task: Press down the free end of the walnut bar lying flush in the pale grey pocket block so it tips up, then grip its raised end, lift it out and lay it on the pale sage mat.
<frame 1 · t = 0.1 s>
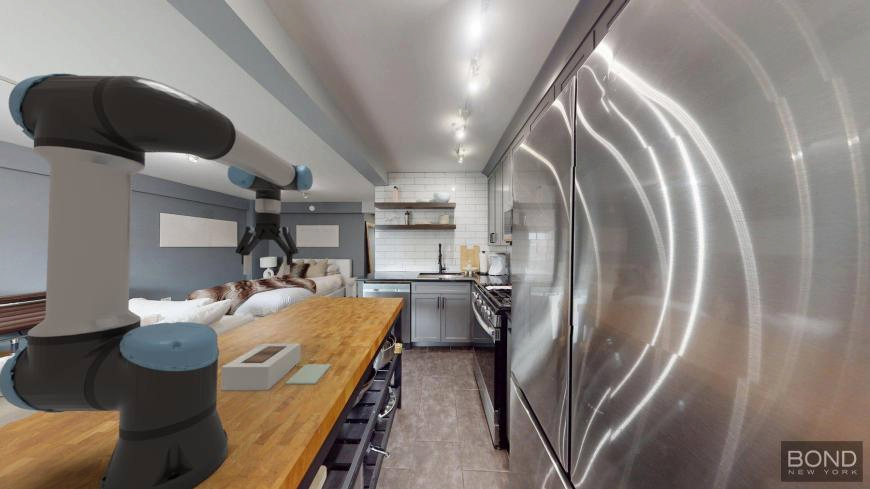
hand: (266, 274, 95), 28 cm above the worktop, tool pointing down, fingers open, 13 cm apart
walnut bar: (265, 362, 81), point 3 cm above the worktop, touching pocket block
sage mat: (310, 374, 81), on the worktop
pocket block: (265, 374, 80), on the worktop
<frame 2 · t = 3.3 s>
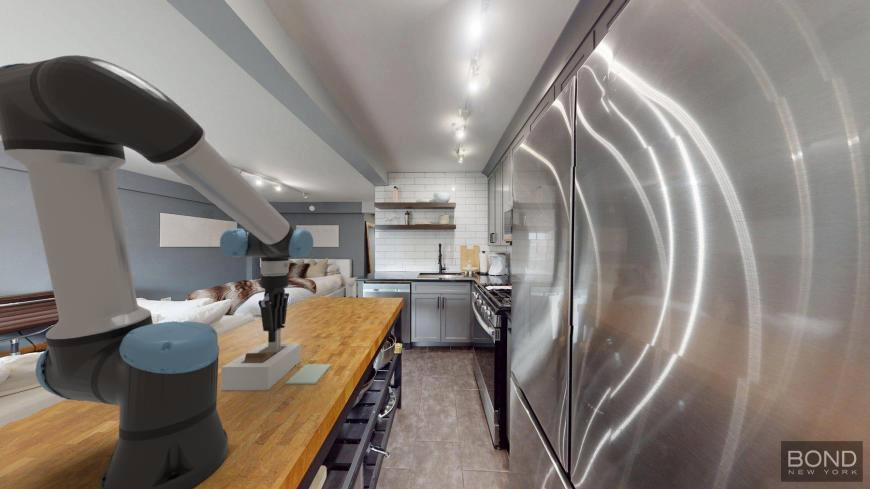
hand: (274, 350, 85), 5 cm above the worktop, tool pointing down, fingers closed
walnut bar: (265, 362, 81), point 4 cm above the worktop, tilted 19°, touching gripper, pocket block
everything else where it was.
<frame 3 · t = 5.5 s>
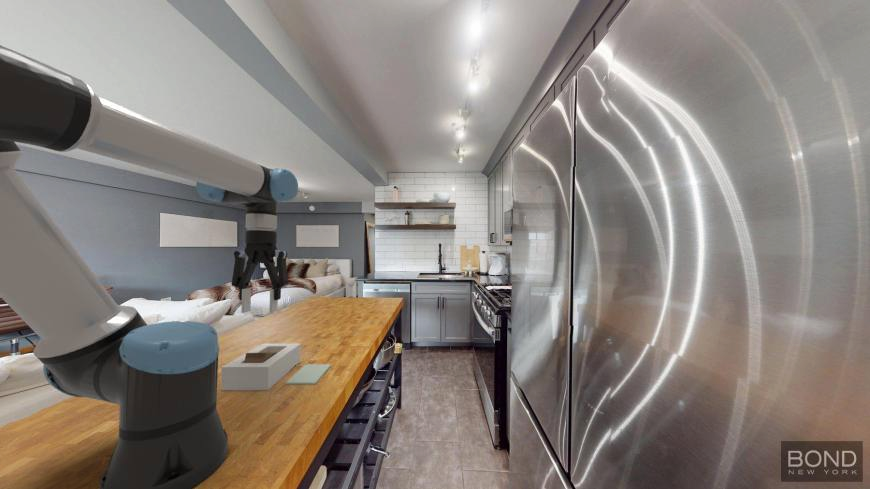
hand: (259, 311, 78), 19 cm above the worktop, tool pointing down, fingers open, 7 cm apart
walnut bar: (265, 361, 81), point 4 cm above the worktop, tilted 20°, touching pocket block
everything else where it was.
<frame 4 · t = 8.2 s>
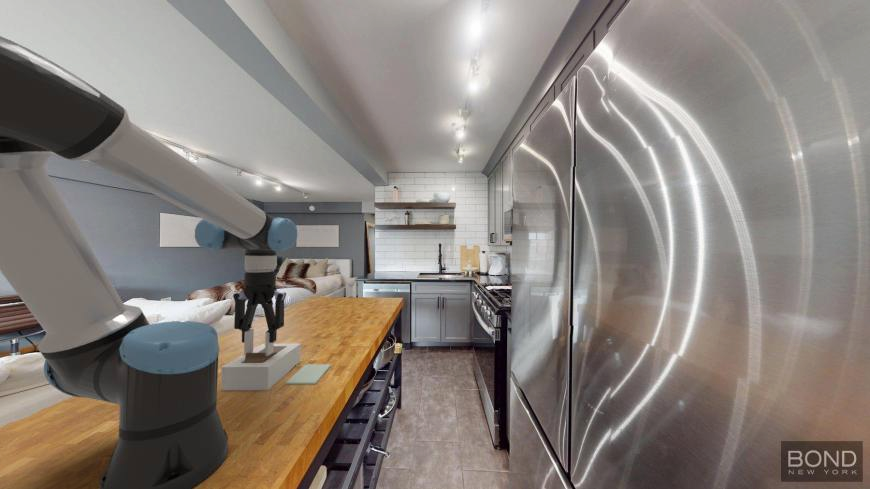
hand: (258, 353, 77), 7 cm above the worktop, tool pointing down, fingers closed on walnut bar, 5 cm apart
walnut bar: (265, 361, 81), point 4 cm above the worktop, tilted 20°, touching gripper, pocket block
everything else where it was.
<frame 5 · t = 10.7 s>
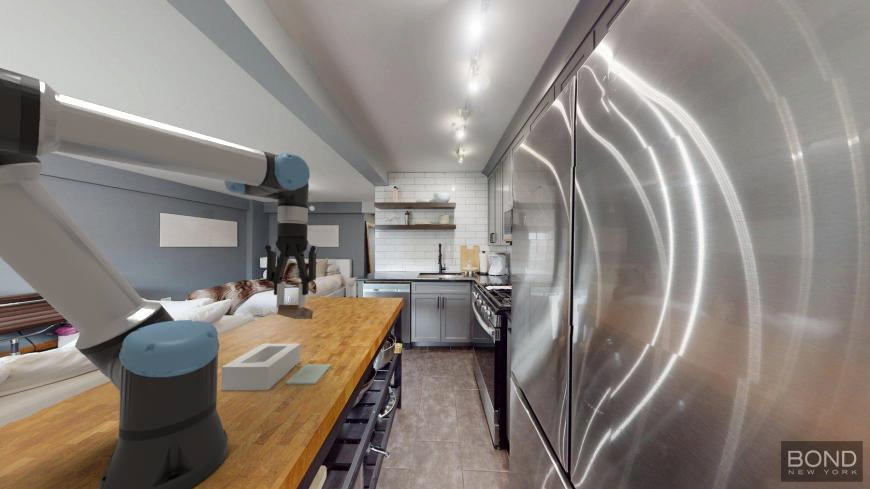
hand: (291, 306, 77), 21 cm above the worktop, tool pointing down, fingers closed on walnut bar, 5 cm apart
walnut bar: (295, 316, 80), point 17 cm above the worktop, tilted 20°, touching gripper
everything else where it was.
when the fingers open (9 cm above the worktop, at t = 13.4 s): walnut bar drops 5 cm, resting on sage mat.
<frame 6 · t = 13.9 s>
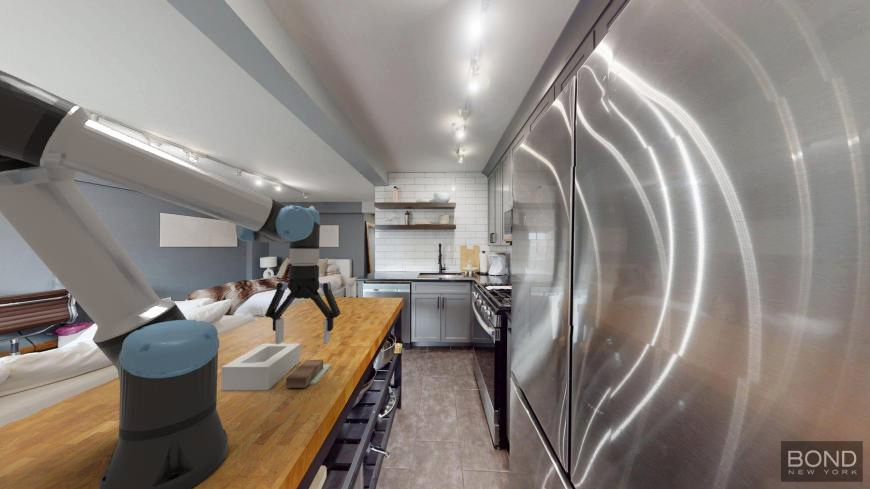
hand: (303, 342, 76), 11 cm above the worktop, tool pointing down, fingers open, 12 cm apart
walnut bar: (306, 377, 78), resting on sage mat
everything else where it was.
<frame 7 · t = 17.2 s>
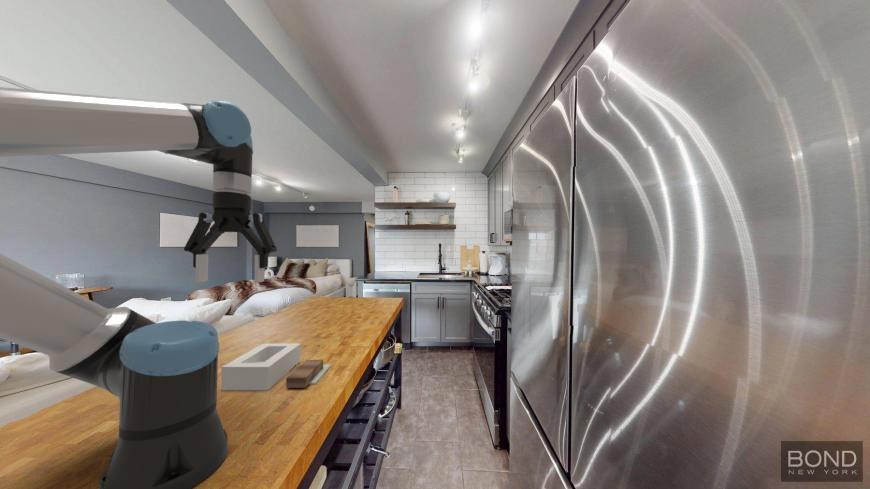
hand: (230, 282, 66), 29 cm above the worktop, tool pointing down, fingers open, 13 cm apart
nothing on the worktop moved.
at the end: walnut bar inside the target area (2.7 cm from its centre), point 0.5 cm above the worktop; walnut bar tilted 0°; the gripper is holding nothing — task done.
